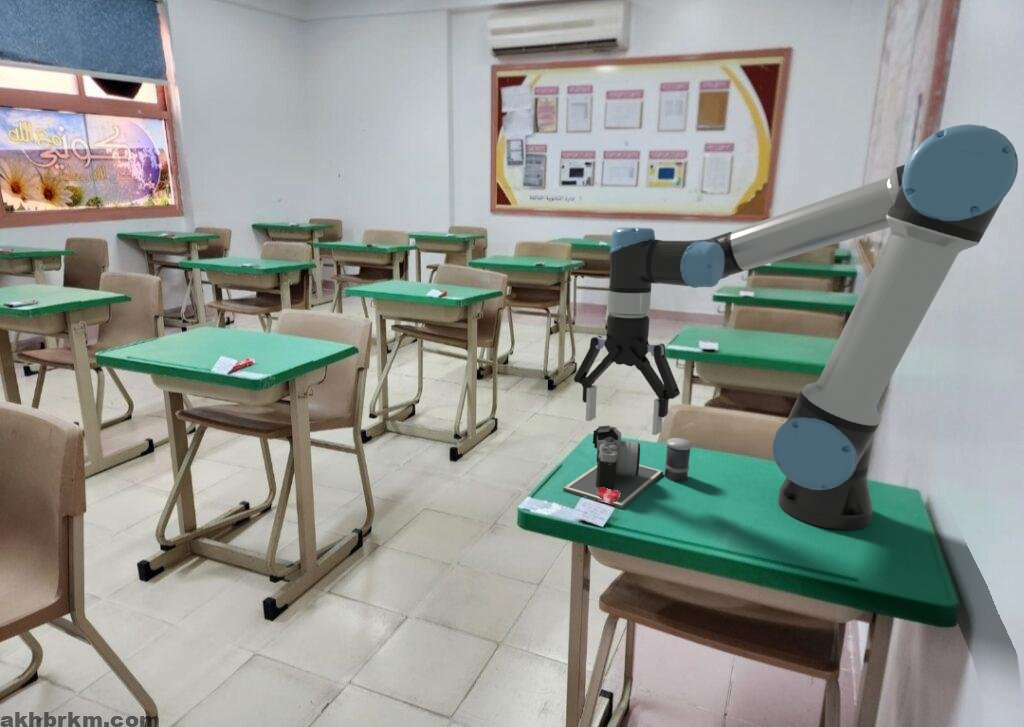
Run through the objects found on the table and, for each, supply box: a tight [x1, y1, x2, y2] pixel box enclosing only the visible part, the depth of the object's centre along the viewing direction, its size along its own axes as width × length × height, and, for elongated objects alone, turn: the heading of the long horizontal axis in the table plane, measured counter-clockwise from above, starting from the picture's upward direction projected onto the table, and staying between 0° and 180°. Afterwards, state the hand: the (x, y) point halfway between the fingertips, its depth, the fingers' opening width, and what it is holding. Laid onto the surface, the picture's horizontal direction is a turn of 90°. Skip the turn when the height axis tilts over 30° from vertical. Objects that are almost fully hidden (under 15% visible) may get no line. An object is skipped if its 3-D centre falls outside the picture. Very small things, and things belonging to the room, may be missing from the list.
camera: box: [592, 424, 641, 490], centre depth 124 cm, size 16×9×10 cm, turn 170°
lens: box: [664, 437, 693, 482], centre depth 128 cm, size 5×5×7 cm
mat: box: [562, 464, 664, 510], centre depth 125 cm, size 12×19×1 cm, turn 146°
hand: (622, 426), depth 122 cm, fingers open, 13 cm apart
